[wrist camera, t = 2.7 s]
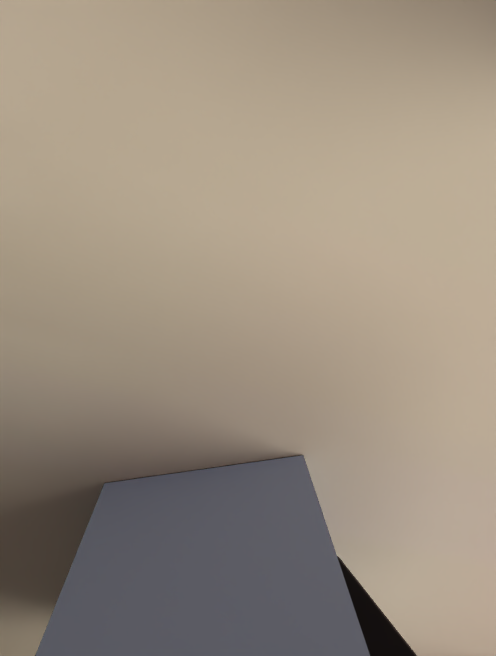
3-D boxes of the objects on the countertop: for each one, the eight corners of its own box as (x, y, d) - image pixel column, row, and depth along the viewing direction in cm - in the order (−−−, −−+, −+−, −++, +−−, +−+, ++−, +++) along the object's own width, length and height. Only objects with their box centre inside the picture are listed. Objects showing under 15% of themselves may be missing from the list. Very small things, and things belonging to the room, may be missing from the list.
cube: (311, 589, 10) (384, 892, 5) (145, 615, 10) (87, 947, 5) (303, 455, 8) (395, 731, 4) (104, 483, 8) (-25, 803, 4)
